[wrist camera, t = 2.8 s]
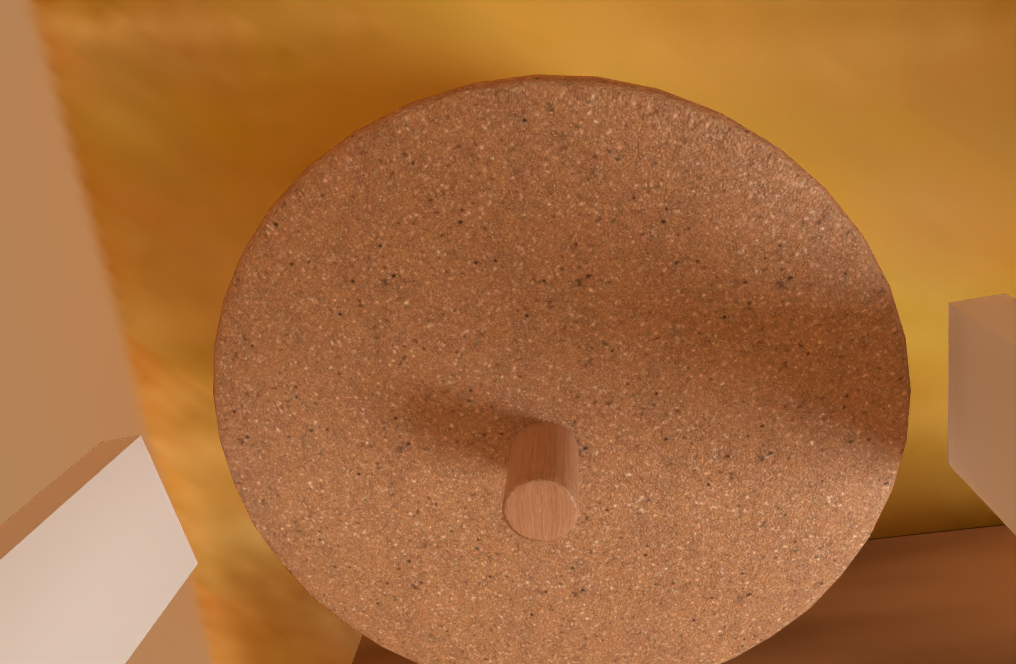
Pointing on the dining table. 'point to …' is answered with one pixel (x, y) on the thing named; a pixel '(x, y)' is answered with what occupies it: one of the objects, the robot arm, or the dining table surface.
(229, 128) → the dining table surface
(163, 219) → the dining table surface
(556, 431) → the lidded jar
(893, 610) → the stepped stand
